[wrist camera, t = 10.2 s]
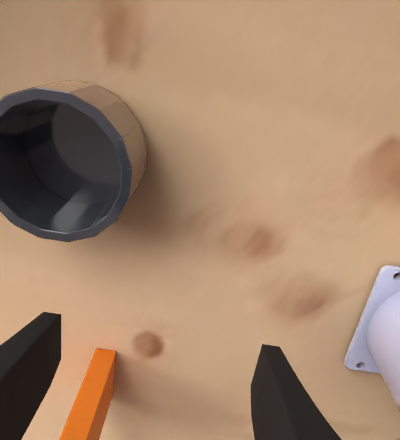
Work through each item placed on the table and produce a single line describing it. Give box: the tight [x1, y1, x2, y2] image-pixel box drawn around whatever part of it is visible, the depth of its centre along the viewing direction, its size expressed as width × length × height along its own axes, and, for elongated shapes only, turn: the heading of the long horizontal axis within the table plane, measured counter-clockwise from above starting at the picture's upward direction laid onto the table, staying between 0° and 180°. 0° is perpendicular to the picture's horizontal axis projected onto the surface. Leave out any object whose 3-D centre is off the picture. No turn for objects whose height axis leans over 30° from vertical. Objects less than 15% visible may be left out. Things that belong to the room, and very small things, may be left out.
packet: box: [59, 349, 116, 440], centre depth 24 cm, size 1×4×7 cm, turn 171°
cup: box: [0, 81, 147, 242], centre depth 19 cm, size 7×7×4 cm
